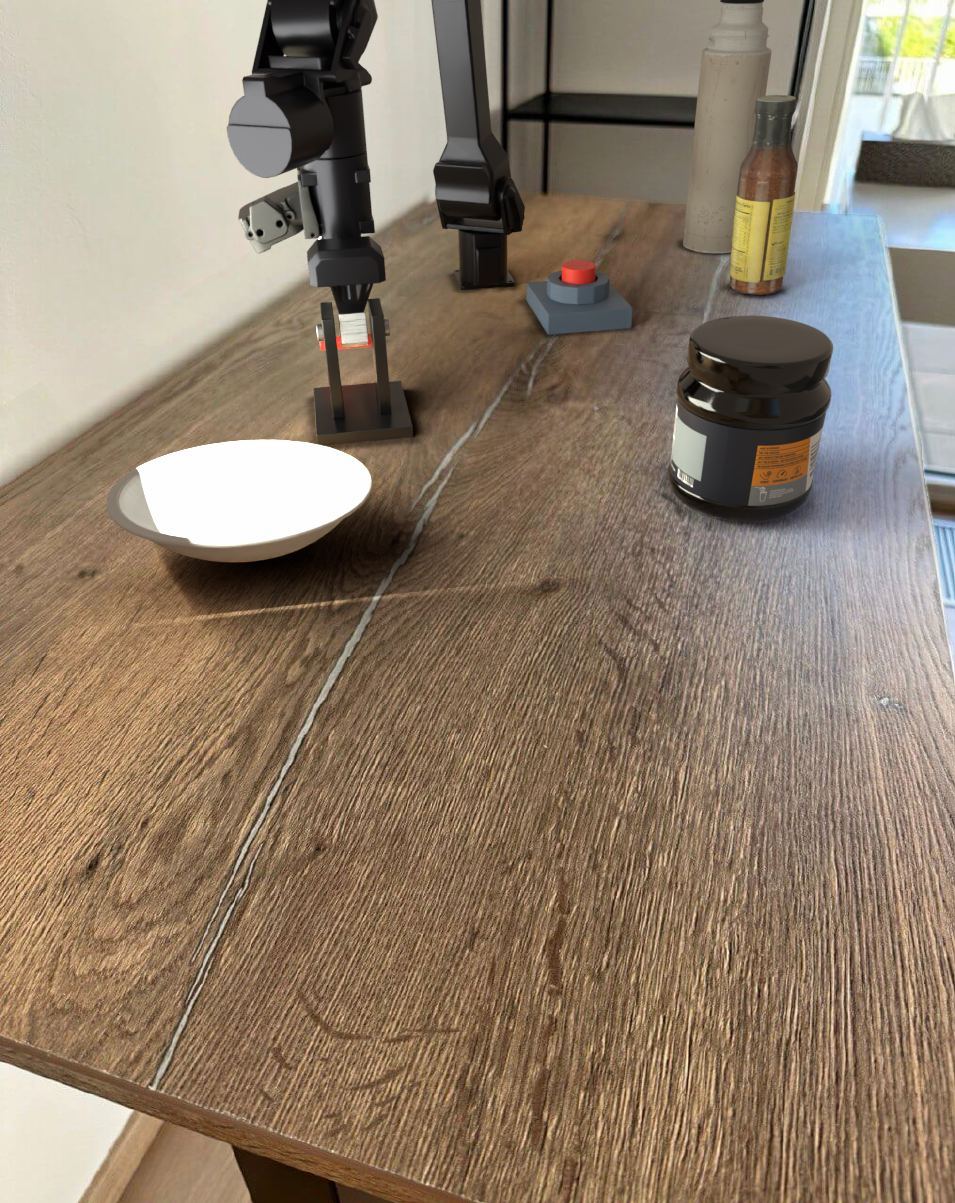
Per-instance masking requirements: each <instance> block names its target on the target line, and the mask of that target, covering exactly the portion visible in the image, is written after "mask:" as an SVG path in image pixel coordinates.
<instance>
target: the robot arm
mask: <svg viewBox="0 0 955 1203" xmlns="http://www.w3.org/2000/svg"><path fill="white" fill-rule="evenodd" d="M266 1H267V2H266V5H265V9H264V14H263V19H262V23H261V27H260V32H259V37H258V41H257V46H256V50H255V53H254V54H255V55H254V59H253V63H252V68H251V74H250V75H245V76H243V77H242V80H241V83H242V89H243V96H241V97H240V98H238V99H237V100H236V101H235V103H234V104H233V105H232V107H231V109H230V113H229V116H228V123H227V124H228V125H227V126H226V134H227V140H228V143H229V147H230V149H231V151H232V153H233V155H234V157H235V159H236V160H237V161H238V163H239V164H240V165H241V167H243V168H244V169H245V170H246V171H248V172H249V173H250V174H252V175H253V176H256V177H259V178H262V179H263V178H264V179H270V178H275V177H278V176H281V175H283V174H285V173H288V172H291V171H293V170H296V172H297V181H296V182H294V183H291V184H289V185H286V186H283V187H281V188H278V189H276V190H274V191H272V192H270V193H268V194H266V195H264V196H260V197H259V198H257V199H255V200H252V201H251V202H248V203H246V204H245V205H243V206H242V207H240V208H239V209H238V210H239V211H238V216H237V217H238V218H237V219H238V222H239V224H240V225H241V227H242V230H243V231H244V237H245V239H246V240H247V241H249V243H250V244H251V246H252V248H253V250H254V252H255V253H256V254H262V253H265V252H267V251H270V250H271V249H272V246H274V245H276V244H278V243H281V242H284V241H285V240H288V239H289V238H291V237H294V236H296V235H298V234H299V233H302V232H303V234H304V240H311V239H313V240H314V239H315V241H314V242H313V243H312V245H310V247H309V248H308V249H307V251H306V258H307V259H306V260H307V268H308V269H307V271H308V276H309V277H308V278H309V284H310V287H313V288H330V291H331V294H332V297H333V299H334V303H335V306H336V309H337V313H338V315H339V314H349V313H363V312H365V310H366V307H367V305H368V299H370V295H371V292H372V290H373V286H374V284H381V283H383V282H386V281H387V275H386V264H385V262H386V261H385V255H384V252H383V249H382V246H381V245H380V244H378V242H377V241H375V240H374V239H373V238H372V237H371V236H370V235H369V234H376V226H375V219H374V216H373V211H372V210H373V209H372V197H371V184H370V183H372V178H371V168H370V165H369V160H368V150H367V149H368V148H367V136H366V124H365V123H366V122H365V112H364V102H363V101H364V100H363V99H364V98H363V88H362V87H365V86H369V85H370V84H372V81H373V77H372V75H371V73H370V71H368V69H367V68H365V67H364V66H362V64H360V60H361V58H362V56H363V54H364V53H365V51H366V49H367V47H368V44H369V42H370V40H371V36H372V34H373V32H374V29H375V26H376V24H377V21H378V18H379V14H378V10H377V7H376V2H375V0H266ZM431 8H432V18H433V26H434V27H433V28H434V35H435V36H434V37H435V45H436V51H437V52H436V53H437V62H438V70H439V79H440V88H441V97H442V105H443V114H444V122H445V123H444V124H445V132H446V144H445V146H444V149H443V151H442V153H441V155H440V157H439V159H438V161H437V162H436V163H435V164H434V166H433V170H432V174H433V178H434V185H435V186H434V187H435V188H434V195H435V196H434V197H435V201H436V205H437V210H438V215H439V221H440V224H441V225H440V226H441V229H442V230H458V231H457V232H458V261H459V269H454V270H453V277H454V279H455V281H456V282H457V283H456V284H458V287H459V289H460V290H476V289H477V290H479V289H491V288H492V289H493V288H505V287H515V286H516V285H515V283H516V282H515V279H514V277H513V276H512V274H510V272H509V270H508V236H510V235H512V234H515V233H521V232H522V231H523V226H524V220H525V216H526V215H525V213H526V211H525V210H526V205H525V203H524V201H523V199H522V196H521V194H520V193H519V190H518V188H517V185H516V183H515V181H514V178H512V172H511V168H510V159H509V155H508V154H507V151H506V150H505V149H504V148H503V146H502V145H501V143H500V142H499V140H498V139H497V138H496V136H495V135H494V133H493V130H492V122H491V121H492V120H491V110H490V98H489V96H490V95H489V87H488V74H487V71H488V70H487V61H486V60H487V59H486V48H485V36H484V25H483V12H482V0H431ZM366 234H368V235H367V236H362V235H366Z"/></svg>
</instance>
